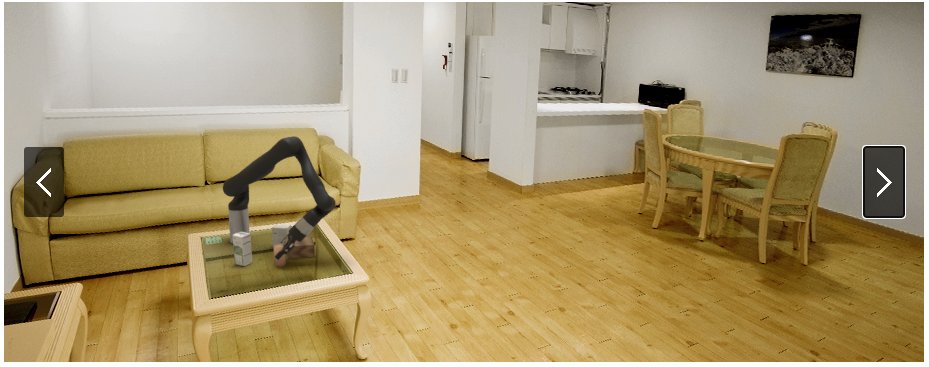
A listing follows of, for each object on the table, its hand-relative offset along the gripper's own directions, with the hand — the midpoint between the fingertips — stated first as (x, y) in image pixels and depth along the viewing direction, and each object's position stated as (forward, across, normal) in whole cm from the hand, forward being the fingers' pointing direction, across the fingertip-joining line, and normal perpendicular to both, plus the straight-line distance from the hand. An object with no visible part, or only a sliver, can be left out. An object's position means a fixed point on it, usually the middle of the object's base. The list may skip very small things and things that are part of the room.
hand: (276, 255), depth 280 cm
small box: (+1, -25, +6) cm, 26 cm away
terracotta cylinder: (+2, 0, +4) cm, 5 cm away
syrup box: (+13, -5, -7) cm, 16 cm away
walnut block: (-5, -12, +11) cm, 17 cm away
